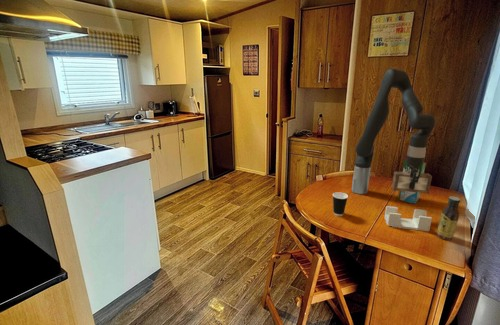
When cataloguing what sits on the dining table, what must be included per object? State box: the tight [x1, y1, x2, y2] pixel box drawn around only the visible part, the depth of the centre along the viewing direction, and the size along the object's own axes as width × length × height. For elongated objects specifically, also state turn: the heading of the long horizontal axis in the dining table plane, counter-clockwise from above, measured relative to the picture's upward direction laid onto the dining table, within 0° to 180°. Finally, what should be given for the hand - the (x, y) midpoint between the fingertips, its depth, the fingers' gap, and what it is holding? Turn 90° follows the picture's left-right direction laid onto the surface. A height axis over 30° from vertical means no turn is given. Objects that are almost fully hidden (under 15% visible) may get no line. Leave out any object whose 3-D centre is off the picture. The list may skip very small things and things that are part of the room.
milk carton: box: [397, 159, 427, 205], centre depth 158 cm, size 9×9×25 cm
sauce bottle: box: [436, 196, 461, 241], centre depth 121 cm, size 6×6×20 cm
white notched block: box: [384, 205, 433, 232], centre depth 134 cm, size 18×9×7 cm, turn 74°
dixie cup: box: [332, 191, 349, 217], centre depth 144 cm, size 8×8×11 cm
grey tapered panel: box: [391, 170, 433, 194], centre depth 138 cm, size 16×4×9 cm, turn 75°
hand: (410, 186), depth 138 cm, fingers closed on grey tapered panel, 4 cm apart
